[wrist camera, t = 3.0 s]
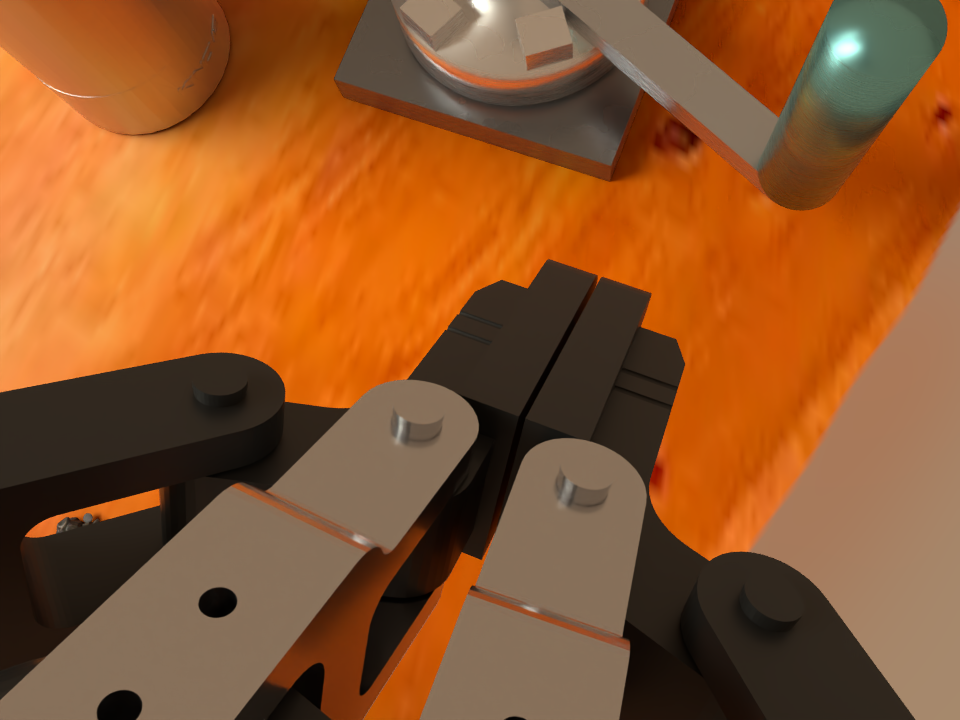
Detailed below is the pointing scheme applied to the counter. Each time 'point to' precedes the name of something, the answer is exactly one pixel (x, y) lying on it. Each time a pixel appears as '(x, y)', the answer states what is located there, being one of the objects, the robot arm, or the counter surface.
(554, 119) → the base plate
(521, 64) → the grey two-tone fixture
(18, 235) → the counter surface
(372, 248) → the counter surface
